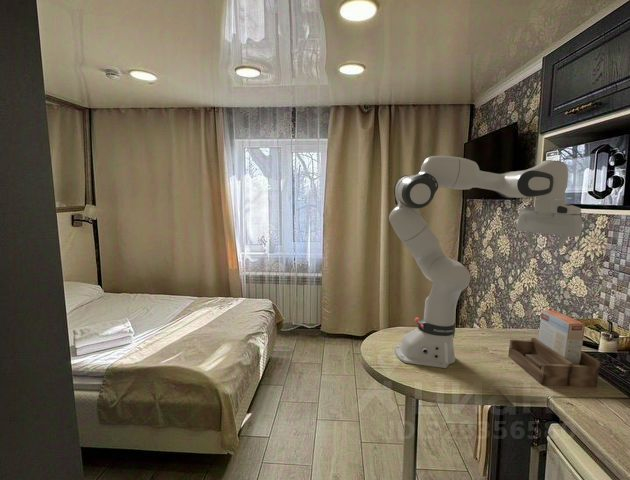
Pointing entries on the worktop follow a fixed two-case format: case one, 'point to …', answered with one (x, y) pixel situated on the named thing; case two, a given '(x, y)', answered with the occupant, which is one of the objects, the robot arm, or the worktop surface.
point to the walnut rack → (554, 365)
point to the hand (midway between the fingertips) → (544, 246)
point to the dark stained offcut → (536, 360)
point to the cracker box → (562, 335)
